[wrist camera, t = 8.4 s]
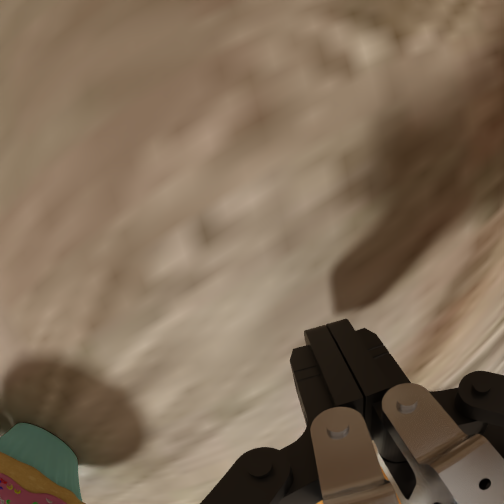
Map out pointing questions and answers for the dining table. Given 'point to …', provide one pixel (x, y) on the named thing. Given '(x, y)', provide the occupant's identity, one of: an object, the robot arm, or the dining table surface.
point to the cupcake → (37, 468)
